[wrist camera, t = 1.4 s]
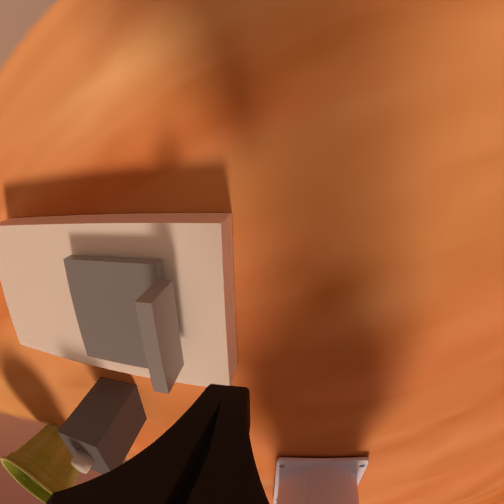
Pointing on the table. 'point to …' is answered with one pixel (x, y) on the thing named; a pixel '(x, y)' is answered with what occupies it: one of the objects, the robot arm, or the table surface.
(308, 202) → the table surface
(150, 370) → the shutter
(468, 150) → the table surface
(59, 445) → the plant pot
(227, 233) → the socket plate
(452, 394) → the table surface
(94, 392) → the plug
